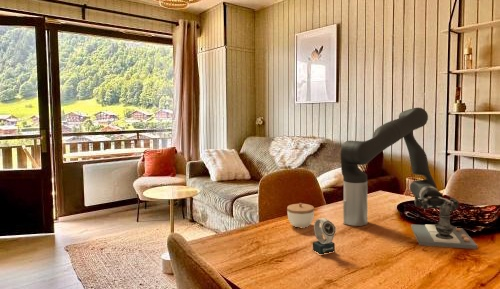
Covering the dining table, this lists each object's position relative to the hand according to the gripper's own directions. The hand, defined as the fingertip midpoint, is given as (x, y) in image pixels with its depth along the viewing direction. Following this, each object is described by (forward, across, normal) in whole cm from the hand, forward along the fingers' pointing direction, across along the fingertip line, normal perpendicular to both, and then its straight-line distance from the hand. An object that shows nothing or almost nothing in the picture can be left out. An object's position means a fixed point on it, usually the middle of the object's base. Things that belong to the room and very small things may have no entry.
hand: (439, 207), depth 127 cm
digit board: (+3, 0, +10) cm, 10 cm away
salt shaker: (+7, 0, +8) cm, 11 cm away
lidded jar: (0, -50, +10) cm, 51 cm away
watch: (+24, -39, +10) cm, 47 cm away
